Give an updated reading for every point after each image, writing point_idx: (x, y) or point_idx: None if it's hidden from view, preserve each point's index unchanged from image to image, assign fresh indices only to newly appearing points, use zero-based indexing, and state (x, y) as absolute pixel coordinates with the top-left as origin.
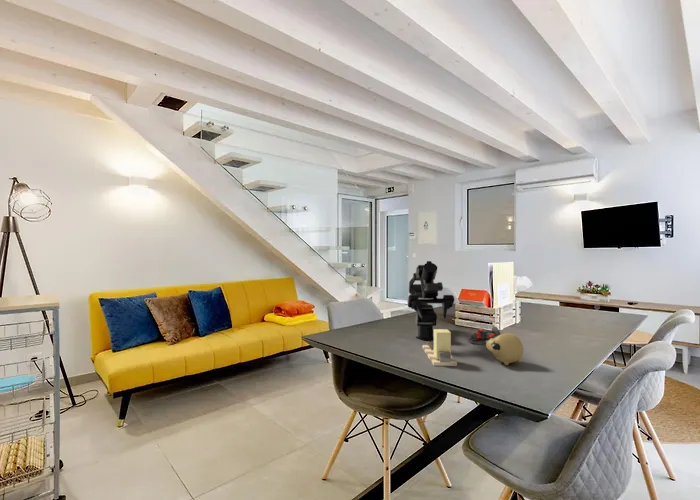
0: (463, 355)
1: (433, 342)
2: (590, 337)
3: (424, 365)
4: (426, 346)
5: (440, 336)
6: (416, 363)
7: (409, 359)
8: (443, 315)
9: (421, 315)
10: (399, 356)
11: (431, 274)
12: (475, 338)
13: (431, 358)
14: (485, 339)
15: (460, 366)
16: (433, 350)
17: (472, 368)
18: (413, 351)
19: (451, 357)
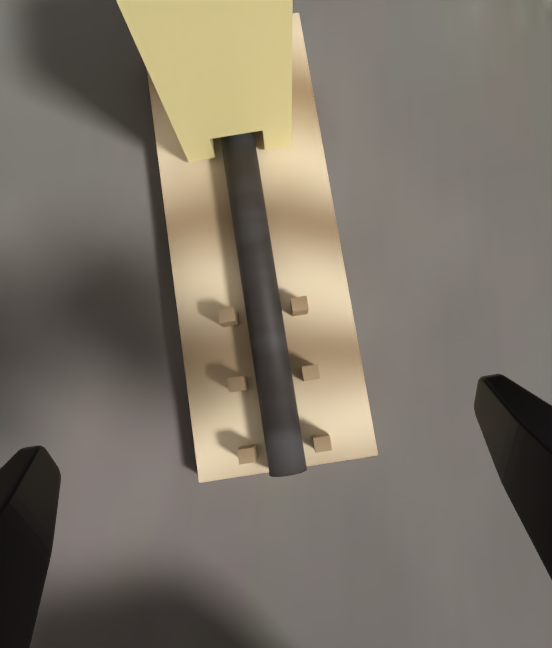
0: (63, 291)
1: (278, 421)
2: None
3: (357, 25)
4: (341, 404)
5: None
6: (410, 53)
7: (463, 125)
8: (42, 577)
9: (521, 392)
10: (543, 180)
11: None
12: None
13: (310, 87)
14: None
15: (129, 50)
16: (286, 290)
17: (62, 28)
18: (445, 329)
19: (164, 134)
